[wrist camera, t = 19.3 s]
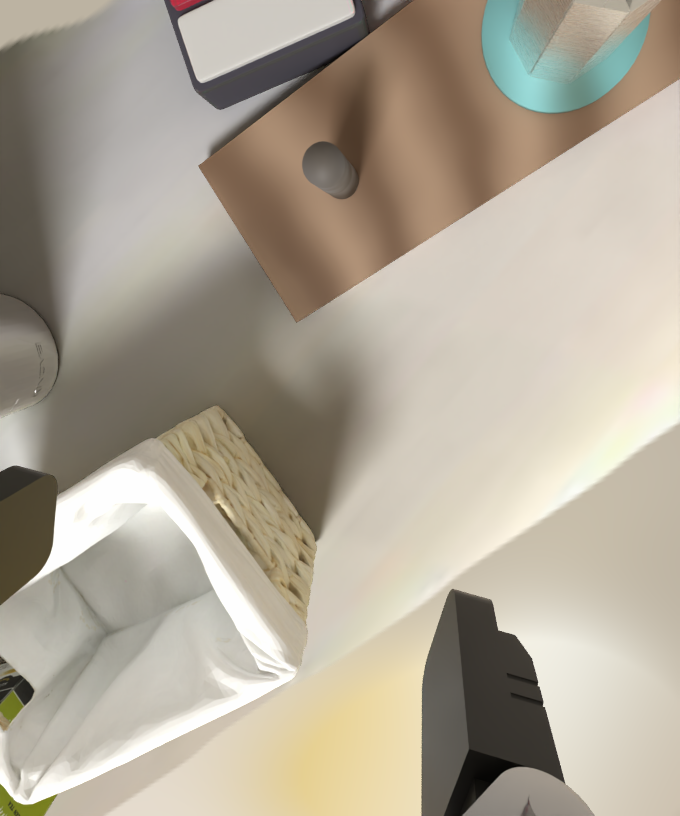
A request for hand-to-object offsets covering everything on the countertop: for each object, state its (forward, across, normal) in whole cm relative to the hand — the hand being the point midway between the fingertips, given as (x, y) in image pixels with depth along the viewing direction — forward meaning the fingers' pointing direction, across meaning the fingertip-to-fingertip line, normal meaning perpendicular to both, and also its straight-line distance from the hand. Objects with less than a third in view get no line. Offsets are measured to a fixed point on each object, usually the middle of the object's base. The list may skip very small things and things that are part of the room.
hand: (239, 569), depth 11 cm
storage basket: (+30, +12, +20) cm, 38 cm away
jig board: (+30, -1, -15) cm, 34 cm away
